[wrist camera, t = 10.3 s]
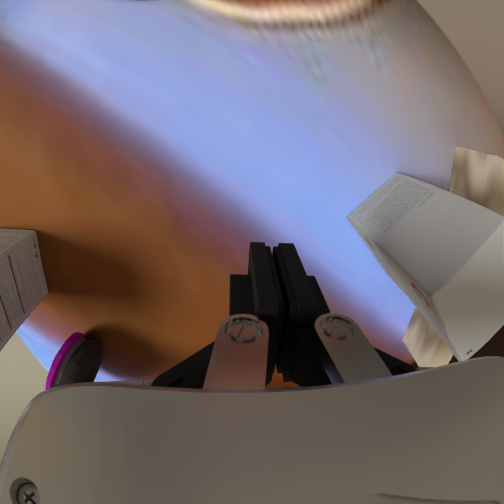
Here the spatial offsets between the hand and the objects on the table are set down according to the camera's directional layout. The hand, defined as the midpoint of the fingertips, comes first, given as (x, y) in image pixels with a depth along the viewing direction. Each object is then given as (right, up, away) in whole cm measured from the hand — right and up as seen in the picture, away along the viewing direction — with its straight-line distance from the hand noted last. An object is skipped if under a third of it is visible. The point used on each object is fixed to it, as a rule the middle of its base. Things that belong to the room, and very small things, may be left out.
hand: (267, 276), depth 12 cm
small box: (+12, +3, +13) cm, 18 cm away
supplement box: (-25, 0, +12) cm, 28 cm away
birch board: (+19, +1, +14) cm, 24 cm away
